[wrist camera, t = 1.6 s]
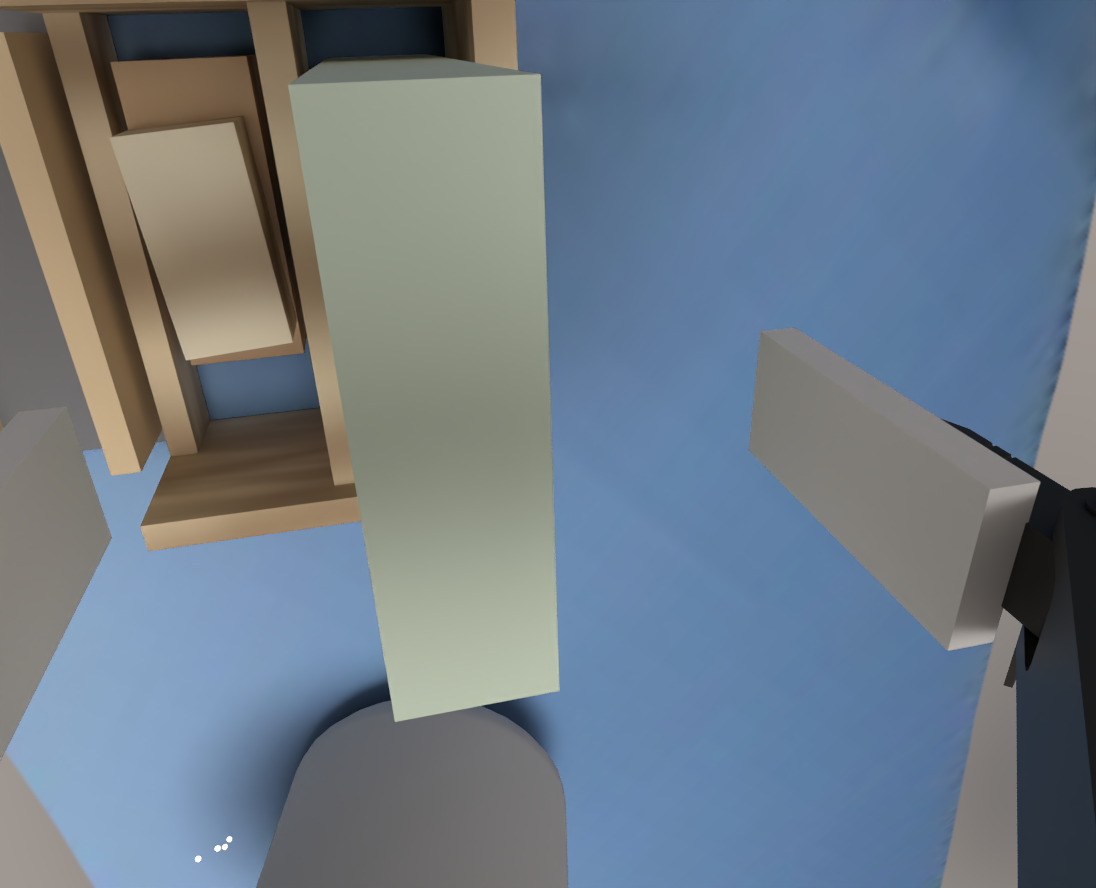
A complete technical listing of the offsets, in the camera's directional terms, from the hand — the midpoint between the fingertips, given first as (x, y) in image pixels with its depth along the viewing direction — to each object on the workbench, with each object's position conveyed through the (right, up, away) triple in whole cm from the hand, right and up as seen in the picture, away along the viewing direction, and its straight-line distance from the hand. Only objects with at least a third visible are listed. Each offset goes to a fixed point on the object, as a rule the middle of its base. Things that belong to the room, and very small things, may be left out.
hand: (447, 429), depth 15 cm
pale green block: (-4, +8, +16) cm, 18 cm away
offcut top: (-9, +7, +12) cm, 16 cm away
